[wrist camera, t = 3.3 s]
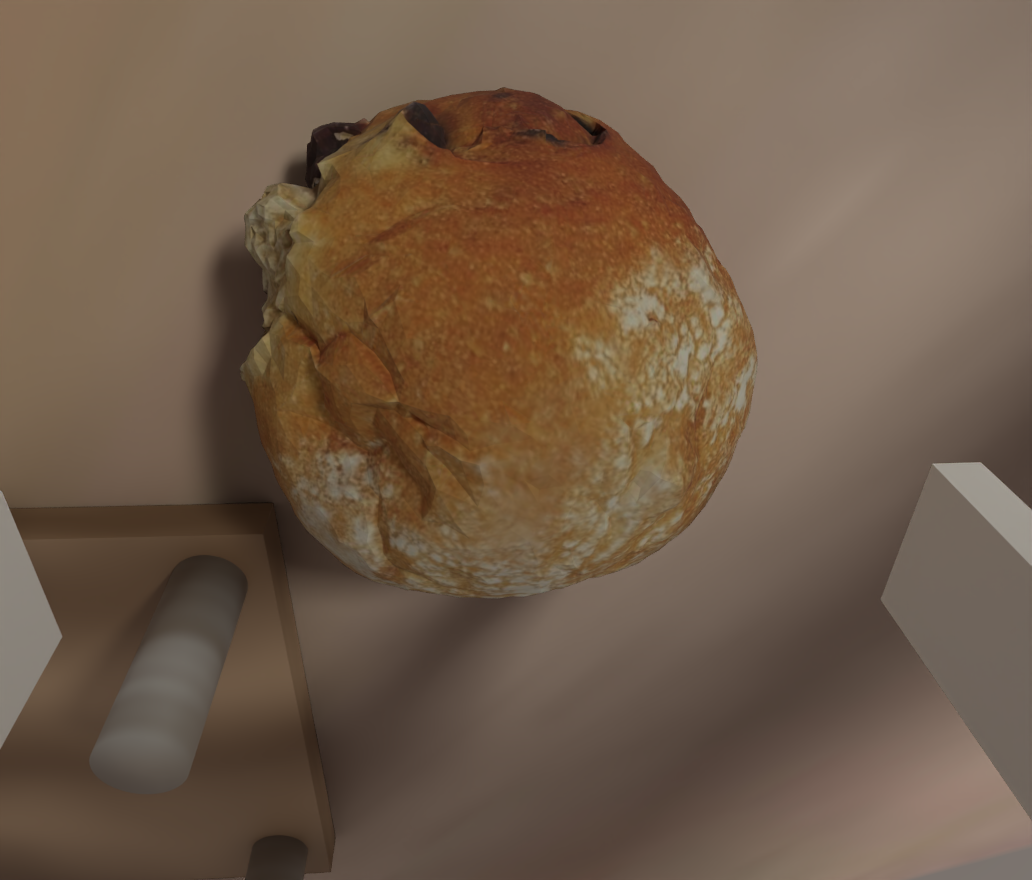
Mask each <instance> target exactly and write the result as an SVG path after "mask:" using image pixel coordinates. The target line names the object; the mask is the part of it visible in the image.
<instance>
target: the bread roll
mask: <svg viewBox="0 0 1032 880" xmlns="http://www.w3.org/2000/svg"><path fill="white" fill-rule="evenodd" d="M305 180H306V182H307V185H308V188H307V187H302V186H298V185H293V184H286V183H279V184H274V185H270V186H267V188H266V190H265V192H264V194H263V196H262V199H259V200H258V201H257V202H256V203H255V204H254V205H253V206H252V207H251V208H250V209H249V210H248V211H247V212H246V213H245V215H244V221H245V242H244V244H245V246H246V248H247V249H248V251H249V252H250V254H251V255H252V257H253V258H254V260H255V261H256V262H257V264H258V265H259V266H260V267H261V268H262V269H263V271H262V282H263V291H264V292H265V293H266V294H268V296H267V301H266V302H265V304H264V305H263V307H262V308H261V309H262V312H263V317H264V323H263V325H262V327H263V328H264V329H265V330H266V331H265V333H264V334H263V335H262V337H261V339H260V341H259V342H258V343H257V344H256V346H255V347H254V348H252V349H251V351H250V353H249V355H248V357H247V360H246V361H245V362H244V363H243V364H242V365H241V367H240V370H241V372H240V375H241V378H242V380H243V381H245V382H246V384H247V387H248V389H249V392H250V394H251V397H252V400H253V403H254V407H255V414H256V420H257V426H258V431H259V435H260V439H261V443H262V445H263V447H264V449H265V451H266V454H267V456H268V458H269V460H270V462H271V464H272V467H273V471H274V474H275V477H276V479H277V481H278V483H279V485H280V487H281V489H282V491H283V492H284V494H285V496H286V497H287V499H288V500H289V502H290V504H291V506H292V508H293V511H294V513H295V515H296V516H297V518H298V519H299V520H300V522H301V523H302V525H303V526H304V527H305V529H306V530H307V531H308V532H309V533H310V534H311V535H312V536H314V537H315V538H316V539H317V540H318V541H319V542H320V543H321V544H322V545H323V546H324V547H325V548H326V549H327V550H329V551H330V552H331V553H332V554H333V555H334V556H335V557H336V558H337V559H338V560H339V561H340V562H341V563H342V564H344V565H345V566H347V567H348V568H349V569H351V570H352V571H354V572H355V573H357V574H359V575H361V576H364V577H366V578H368V579H370V580H372V581H374V582H377V583H382V584H387V585H392V586H395V587H399V588H402V589H405V590H417V591H422V592H426V593H433V594H442V595H447V596H453V597H476V598H504V597H509V596H513V597H525V596H530V595H535V594H539V593H543V592H547V591H550V590H554V589H561V588H564V587H567V586H570V585H573V584H575V583H578V582H581V581H583V580H586V579H588V578H596V577H601V576H604V575H606V574H610V573H614V572H617V571H620V570H622V569H625V568H627V567H630V566H633V565H635V564H638V563H639V562H641V561H642V560H644V559H645V558H646V557H648V556H650V555H651V554H653V553H655V552H657V551H658V550H660V549H661V548H662V547H663V546H665V545H666V544H667V543H668V542H670V541H671V540H672V539H674V538H675V537H677V536H678V535H679V534H680V533H681V532H682V531H684V530H685V529H686V528H687V527H688V526H689V525H690V524H691V523H692V521H693V520H694V519H695V518H696V517H697V515H698V514H699V513H700V512H701V510H702V509H703V508H704V507H705V505H706V503H707V502H708V500H709V499H710V497H711V496H712V494H713V492H714V491H715V489H716V487H717V485H718V483H719V482H720V480H721V479H722V477H723V476H724V474H725V472H726V470H727V468H728V466H729V464H730V461H731V459H732V456H733V453H734V450H735V447H736V444H737V441H738V439H739V438H740V436H741V433H742V431H743V430H744V428H745V425H746V422H747V419H748V416H749V413H750V408H751V400H752V393H753V388H754V383H755V378H756V372H757V351H756V346H755V340H754V334H753V330H752V327H751V325H750V322H749V320H748V317H747V315H746V313H745V310H744V308H743V305H742V303H741V301H740V299H739V297H738V295H737V292H736V289H735V287H734V284H733V281H732V279H731V277H730V276H729V274H728V272H727V270H726V269H725V268H724V267H723V266H722V265H721V263H720V262H719V260H718V259H717V257H716V255H715V253H714V251H713V249H712V247H711V245H710V243H709V241H708V239H707V237H706V235H705V233H704V232H703V230H702V228H701V227H700V226H699V225H698V224H697V223H696V222H695V220H694V218H693V216H692V214H691V212H690V210H689V208H688V207H687V206H686V204H685V203H684V202H683V201H682V199H681V198H680V197H679V196H678V195H677V194H676V193H675V192H674V191H673V190H672V189H670V188H669V187H668V186H667V185H666V184H665V183H664V182H663V180H662V179H661V177H660V176H659V174H658V173H657V171H656V170H655V168H654V167H653V166H652V165H651V164H650V163H649V162H647V161H646V160H645V159H644V158H642V157H641V156H640V155H639V154H638V153H637V152H636V151H635V150H633V149H632V148H631V147H630V146H629V145H628V144H627V143H626V142H624V140H623V139H622V137H621V136H620V135H619V133H618V132H616V131H615V130H613V129H612V128H611V127H609V126H608V125H606V124H605V123H603V122H602V121H601V120H598V119H596V118H593V117H591V116H588V115H586V114H583V113H581V112H578V111H572V110H565V109H563V108H562V107H561V106H559V105H557V104H555V103H553V102H551V101H549V100H547V99H545V98H544V97H542V96H540V95H538V94H535V93H531V92H525V91H518V90H512V89H508V88H504V87H503V88H500V89H498V90H496V91H476V92H470V93H463V94H456V95H450V96H446V97H442V98H438V99H434V100H417V101H413V102H410V103H406V104H403V105H399V106H396V107H393V108H390V109H387V110H385V111H382V112H379V113H378V114H377V115H376V116H375V117H374V118H373V119H372V120H371V121H370V122H369V121H367V120H366V119H365V118H363V119H362V120H360V121H358V122H356V123H335V122H333V123H330V124H326V125H322V126H320V127H318V128H316V129H314V130H313V132H312V136H311V142H310V143H308V144H307V173H306V178H305ZM293 314H294V315H295V317H296V319H297V321H298V323H297V321H296V319H295V317H294V315H293Z"/></svg>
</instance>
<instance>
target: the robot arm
mask: <svg viewBox="0 0 1032 880" xmlns="http://www.w3.org/2000/svg"><path fill="white" fill-rule="evenodd" d="M880 600H881V601H882V603H883V604H884V606H885V607H886V609H887V610H888V612H889V613H890V614H891V616H892V617H893V619H894V620H895V622H896V623H897V625H898V626H899V628H900V629H901V630H902V632H903V633H904V635H905V636H906V638H907V639H908V641H909V642H910V644H911V645H912V647H913V648H914V649H915V651H916V652H917V654H918V655H919V657H920V658H921V660H922V661H923V663H924V664H925V666H926V667H927V668H928V670H929V671H930V673H931V674H932V676H933V677H934V679H935V680H936V682H937V683H938V684H939V686H940V687H941V689H942V690H943V692H944V693H945V695H946V696H947V698H948V699H949V701H950V702H951V703H952V705H953V706H954V708H955V709H956V711H957V712H958V714H959V715H960V717H961V718H962V720H963V721H964V722H965V724H966V725H967V727H968V728H969V730H970V731H971V733H972V734H973V736H974V737H975V738H976V740H977V741H978V743H979V744H980V746H981V747H982V749H983V750H984V752H985V753H986V755H987V756H988V757H989V759H990V760H991V762H992V763H993V765H994V766H995V768H996V769H997V771H998V772H999V773H1000V775H1001V776H1002V778H1003V779H1004V781H1005V782H1006V784H1007V785H1008V787H1009V788H1010V790H1011V791H1012V792H1013V794H1014V795H1015V797H1016V798H1017V800H1018V801H1019V803H1020V804H1021V806H1022V807H1023V809H1024V810H1025V811H1026V813H1027V814H1028V816H1029V817H1030V819H1031V820H1032V510H1031V509H1030V508H1029V507H1028V506H1027V505H1026V504H1025V503H1024V502H1023V501H1022V500H1021V499H1020V498H1019V497H1017V496H1016V495H1015V494H1014V493H1013V492H1012V491H1011V490H1010V489H1009V488H1008V487H1007V486H1006V485H1005V484H1004V483H1003V482H1001V481H1000V480H999V479H998V478H997V477H996V476H995V475H994V474H993V473H992V472H991V471H990V470H989V469H988V468H986V467H985V466H984V465H983V464H982V463H981V462H972V463H938V464H932V466H931V468H930V471H929V473H928V476H927V479H926V481H925V484H924V487H923V489H922V492H921V494H920V497H919V500H918V502H917V505H916V508H915V510H914V513H913V515H912V518H911V521H910V523H909V526H908V529H907V531H906V534H905V536H904V539H903V542H902V544H901V547H900V550H899V552H898V555H897V557H896V560H895V563H894V565H893V568H892V570H891V573H890V576H889V578H888V581H887V584H886V586H885V589H884V591H883V594H882V597H881V599H880ZM61 638H62V635H61V632H60V630H59V627H58V625H57V623H56V620H55V618H54V615H53V613H52V610H51V608H50V606H49V603H48V601H47V598H46V596H45V594H44V591H43V589H42V586H41V584H40V582H39V579H38V577H37V574H36V572H35V570H34V567H33V565H32V562H31V560H30V558H29V555H28V553H27V550H26V548H25V545H24V543H23V541H22V538H21V536H20V533H19V531H18V529H17V526H16V524H15V521H14V519H13V517H12V514H11V512H10V509H9V507H8V505H7V502H6V500H5V497H4V495H3V493H2V491H0V749H1V747H2V745H3V743H4V741H5V740H6V738H7V736H8V734H9V732H10V731H11V729H12V727H13V725H14V723H15V721H16V720H17V718H18V716H19V714H20V712H21V711H22V709H23V707H24V705H25V703H26V702H27V700H28V698H29V696H30V694H31V692H32V691H33V689H34V687H35V685H36V683H37V682H38V680H39V678H40V676H41V674H42V673H43V671H44V669H45V667H46V665H47V663H48V662H49V660H50V658H51V656H52V654H53V653H54V651H55V649H56V647H57V645H58V644H59V642H60V640H61Z"/></svg>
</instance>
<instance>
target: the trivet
mask: <svg viewBox="0 0 1032 880" xmlns="http://www.w3.org/2000/svg"><path fill="white" fill-rule="evenodd" d="M10 512H11V514H12V517H13V519H14V521H15V524H16V526H17V529H18V531H19V533H20V536H21V538H22V541H23V543H24V545H25V548H26V550H27V553H28V555H29V558H30V560H31V562H32V565H33V567H34V570H35V572H36V574H37V577H38V579H39V582H40V584H41V586H42V589H43V591H44V594H45V596H46V598H47V601H48V603H49V606H50V608H51V610H52V613H53V615H54V618H55V620H56V623H57V625H58V627H59V630H60V632H61V635H62V638H61V640H60V642H59V644H58V645H57V647H56V649H55V651H54V653H53V654H52V656H51V658H50V660H49V662H48V663H47V665H46V667H45V669H44V671H43V673H42V674H41V676H40V678H39V680H38V682H37V683H36V685H35V687H34V689H33V691H32V692H31V694H30V696H29V698H28V700H27V702H26V703H25V705H24V707H23V709H22V711H21V712H20V714H19V716H18V718H17V720H16V721H15V723H14V725H13V727H12V729H11V731H10V732H9V734H8V736H7V738H6V740H5V741H4V743H3V745H2V747H1V749H0V880H198V879H216V878H234V877H245V880H303V879H304V874H306V873H324V872H331V868H332V860H333V853H334V845H335V833H334V827H333V822H332V817H331V811H330V806H329V801H328V795H327V790H326V784H325V779H324V774H323V768H322V763H321V758H320V752H319V747H318V741H317V736H316V731H315V725H314V720H313V715H312V709H311V704H310V698H309V693H308V688H307V682H306V677H305V672H304V666H303V661H302V656H301V650H300V645H299V639H298V634H297V629H296V623H295V618H294V613H293V607H292V602H291V596H290V591H289V586H288V580H287V575H286V570H285V564H284V559H283V553H282V548H281V543H280V537H279V532H278V527H277V521H276V516H275V511H274V505H273V503H249V504H203V505H157V506H110V507H64V508H17V509H10Z"/></svg>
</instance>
